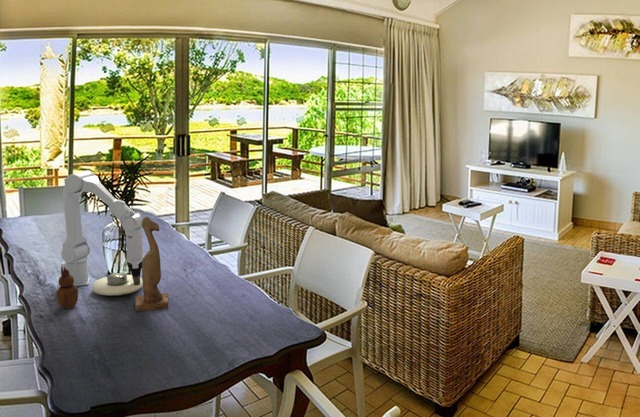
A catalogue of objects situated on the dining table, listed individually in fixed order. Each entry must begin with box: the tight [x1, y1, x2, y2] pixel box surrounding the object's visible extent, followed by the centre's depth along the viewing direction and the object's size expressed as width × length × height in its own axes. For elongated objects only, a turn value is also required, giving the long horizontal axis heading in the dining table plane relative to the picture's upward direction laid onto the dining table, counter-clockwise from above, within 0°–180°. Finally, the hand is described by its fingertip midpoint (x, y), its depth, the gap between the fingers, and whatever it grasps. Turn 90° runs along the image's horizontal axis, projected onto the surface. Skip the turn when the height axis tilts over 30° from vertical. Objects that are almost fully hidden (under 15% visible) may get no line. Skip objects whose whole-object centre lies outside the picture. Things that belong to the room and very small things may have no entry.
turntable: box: [92, 274, 143, 296], centre depth 217 cm, size 18×18×5 cm
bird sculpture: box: [134, 216, 169, 313], centre depth 200 cm, size 11×12×32 cm
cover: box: [106, 272, 128, 286], centre depth 217 cm, size 7×7×3 cm
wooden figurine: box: [56, 266, 79, 309], centre depth 199 cm, size 7×6×15 cm
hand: (136, 280), depth 217 cm, fingers closed, pressing on turntable
